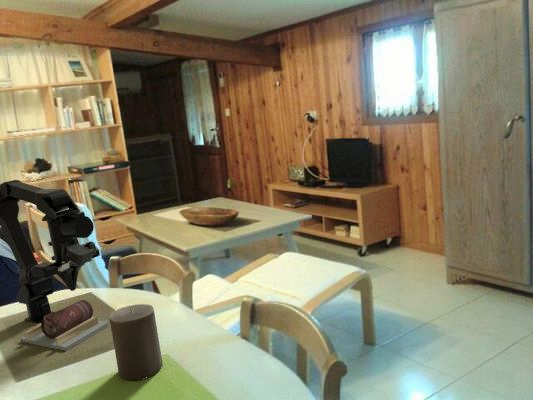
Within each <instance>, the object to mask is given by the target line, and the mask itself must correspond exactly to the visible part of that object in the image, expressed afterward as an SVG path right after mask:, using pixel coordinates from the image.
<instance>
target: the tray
mask: <svg viewBox="0 0 533 400" xmlns="http://www.w3.org/2000/svg"><path fill="white" fill-rule="evenodd" d="M109 326H110V321H103V320H99V319H98V316H92V317H91V318H90V319H88V320H87V321H85V322H83V323H81V324H80V325H78V326H76V327H74V328H72V329H71V330H69V331H67V332H65V333H63V334H62V335H60V336H58V337H55V338H49V337H47V336H46V335H45V334H44V333H43V331H42V329H41V323H40V324H38V325H36V326H34V327H33V328H30V329H28V330H26V331H24V332H23V333H24V336H22V337H20V343H24V344H30V345H34V346H39V347H40V346H41V347H44V348H51V349H57V350H60V351H65V352H67V351H69V350H71V349H73V348H74V347H75V346H77V345H79V344H81V343H82V342H84V341H85V340H87V339H89V338H91V337H92V336H94V335H95V334H98V333H99V332H101V331H103V330H104V329H106V328H108V327H109Z"/></svg>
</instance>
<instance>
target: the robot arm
mask: <svg viewBox="0 0 533 400" xmlns="http://www.w3.org/2000/svg"><path fill="white" fill-rule="evenodd" d="M20 201H23V202H26V203H30V204H32V205H34V206H35V207H36V209H37V211H39V212H41V213H43V214H44V216H43V217H42V218H41V221H42V222H46V223H47V228H48V229H47V230H48V234H49V237H50V240H49V241H48V242H47V244H48V247H52V251H53V255H52V256H51V257H50V258H51V260H52V261H53V262H48V261H43V262H40V263H38V261H37V259H36V256H35V255H34V252H33V250H32V247H31V246H30V244H29V241H28V239H27V236H26V234H25V232H24V230H23V227H22V226H21V223H20V221H19V212H20V206H19V202H20ZM94 227H95V226H94V222H93V220H92V219H91V218H90V217H89V216H86V214H85V212H84V211H81V210H80V208H79V207H78V204H77V203H76V202H75V201H74V200H73V197H71V195H70V194H69V193H68V191H66V189H63V188H41V187H39V186H36V185H35V186H34V185H32V184H29V183H25V182H22V180H19V179H13V180H9V181H4V182H2V183H0V228H1V230H2V232H3V234H4V237H5V239H6V241H7V243H8V246H9V248H10V250H11V253H12V255H13V256H14V257H13V258H14V259H15V261H16V264H17V266H18V268H19V276H18V284H19V286H20V288H19V290H18V292H17V294H16V296H15V297H16V299H17V302H18V303H19V304H22V305H23V304H24V305H26V306H25V307H26V310H27V315H28V316H27V317H26V318H24V321H25V322H30V323H37V324H39V323H42V320H43V319H44V317H45V316H46V315H48V314H50V313H53V312H54V311H52V309H51V303H50V301H49V298H48V296H50V295H53V294H54V278H53V277H54V276H55V275H57V276H58V277H59V278H60V280H61V281H62V282H63V283H64V284H65V286H66V287H67V288H68V289H69V290H70V291H72V292H73V291H76V287H77V282H78V275H79V273H80V272H79V271H80V270H81V268H82V267H83V266H85V264H86V263H90V262H92V259H94V258H97V257H99V256H101V253H100V248H98V247H97V245H96V244H95V243H96V242H93V241H91V240H90V241H88V242H85V243H82V244H80V241H79V239H87V238H88V237H90V236H91V235H92V234H93V232H94V229H95V228H94Z"/></svg>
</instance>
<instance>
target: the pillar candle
mask: <svg viewBox="0 0 533 400" xmlns="http://www.w3.org/2000/svg"><path fill="white" fill-rule="evenodd" d="M109 326H110V331H111V336H112V337H111V338H112V342H113V348H114V353H115V359H116V364H117V365H116V367H117V372H118V376H119V378H121V379H122V380H124V381H125V380H126V381H139V380H140V381H141V380H144V379H143V378H146V377H148V378H150V377H152V376H154V375H156V374H157V373H159V372H160V371H161V370H162V368H163V367H164V366H163V365H164V363H163V358H162V351H161V345H160V339H159V333H158V326H157V321H156V315H155V308H154V306H153V305H151V304H146V303H145V304H143V303H140V304H139V303H138V304H132V305H128V306H124V307H120V308H117V309H116V310H115V311H113V312H111V314H110V315H109ZM161 367H162V368H161ZM160 369H161V370H160ZM159 370H160V371H159ZM158 371H159V372H158ZM149 376H150V377H149ZM146 379H147V378H146Z"/></svg>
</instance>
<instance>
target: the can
mask: <svg viewBox="0 0 533 400" xmlns="http://www.w3.org/2000/svg"><path fill="white" fill-rule="evenodd" d="M52 312H53V313H50V314H48V315H46V316H45V317H44V319H43V320H42V321H41V322H40V324H41V329H42V331H43V333H44V334H45V335H46V336H47V337H49V338H55V337H58V336H60V335H62V334H63V333H65V332H67V331H69V330H71V329H72V328H74V327H76V326H78V325H80V324H81V323H83V322H85V321H87V320H88V319H90V318H92V317H93V315H94V308H93V305H92V304H91V303H90V302H88V301H87V300H85V299H81V300H78V301H76V302H74V303H72V304H70V305H67V306H65V307H64V308H62V309H59V310H56V311H52Z"/></svg>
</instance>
